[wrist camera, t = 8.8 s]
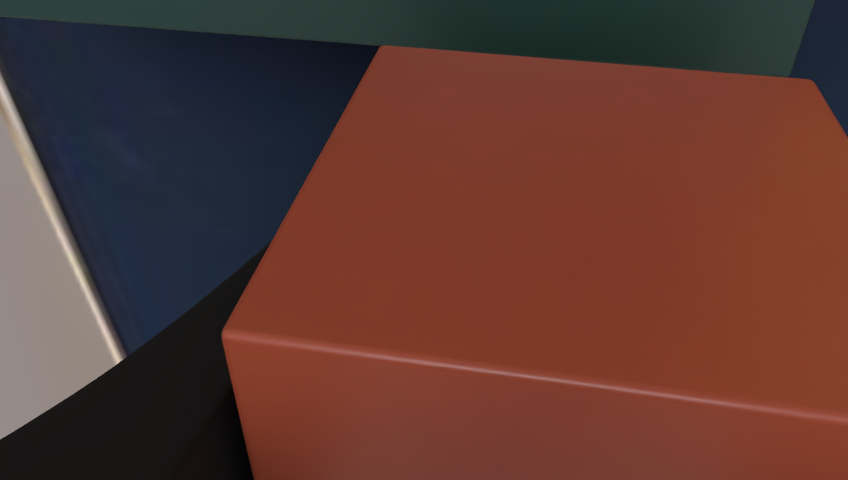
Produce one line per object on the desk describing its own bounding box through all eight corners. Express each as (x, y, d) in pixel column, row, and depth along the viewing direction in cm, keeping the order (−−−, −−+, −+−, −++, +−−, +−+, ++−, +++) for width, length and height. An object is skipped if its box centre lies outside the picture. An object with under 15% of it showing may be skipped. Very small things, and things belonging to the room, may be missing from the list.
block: (702, 377, 11) (770, 750, 7) (387, 335, 12) (292, 658, 8) (814, 78, 8) (1042, 445, 4) (379, 42, 9) (215, 332, 5)
